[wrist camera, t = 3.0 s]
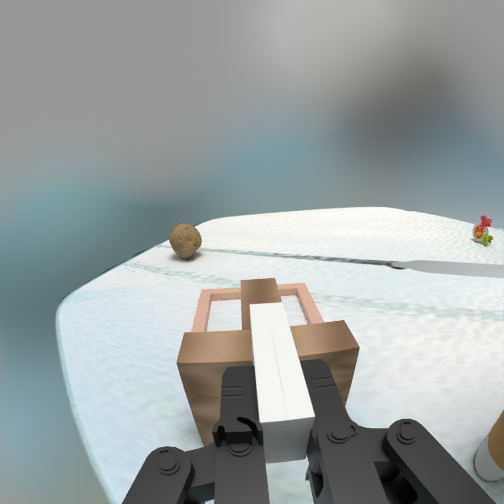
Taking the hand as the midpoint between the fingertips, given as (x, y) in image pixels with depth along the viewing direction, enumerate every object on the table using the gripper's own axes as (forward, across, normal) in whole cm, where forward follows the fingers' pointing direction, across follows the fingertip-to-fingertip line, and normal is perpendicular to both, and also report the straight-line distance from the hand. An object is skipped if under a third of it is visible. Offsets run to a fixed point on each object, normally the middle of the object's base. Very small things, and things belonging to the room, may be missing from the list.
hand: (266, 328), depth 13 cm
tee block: (+12, +1, -19) cm, 22 cm away
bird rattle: (+58, +86, -18) cm, 105 cm away
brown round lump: (+64, -17, -19) cm, 69 cm away
